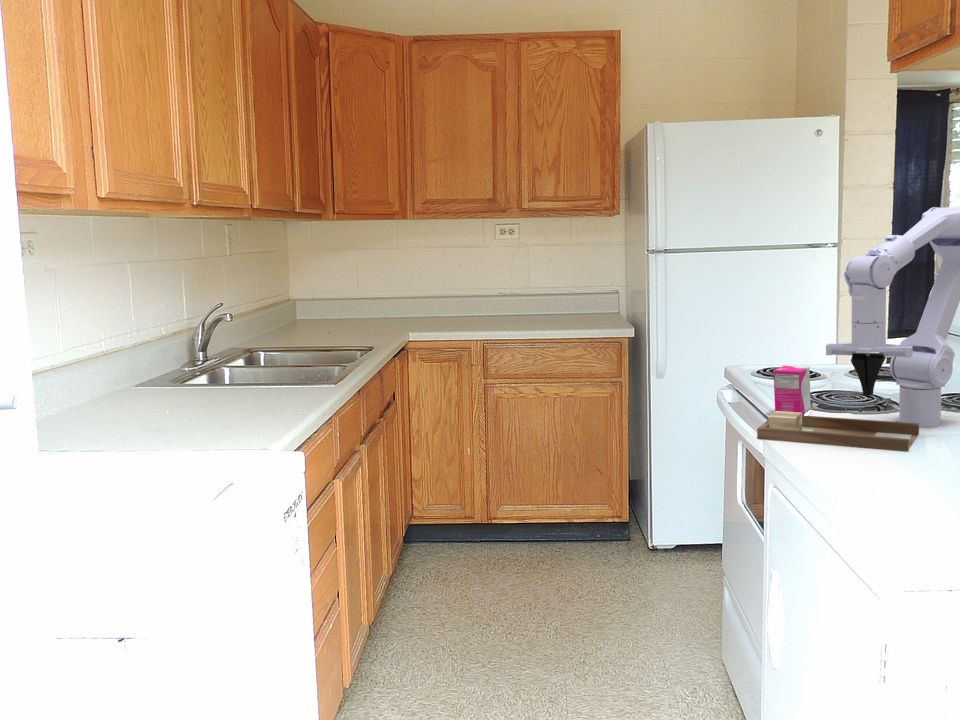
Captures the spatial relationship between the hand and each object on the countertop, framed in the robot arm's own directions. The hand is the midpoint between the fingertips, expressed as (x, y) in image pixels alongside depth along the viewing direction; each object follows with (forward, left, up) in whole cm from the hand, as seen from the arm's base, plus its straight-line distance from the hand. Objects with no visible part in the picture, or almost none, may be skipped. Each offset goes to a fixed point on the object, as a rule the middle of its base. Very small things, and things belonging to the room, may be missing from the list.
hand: (868, 394), depth 164 cm
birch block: (+2, -14, -8) cm, 17 cm away
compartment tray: (+2, -5, -9) cm, 11 cm away
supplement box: (-13, -17, -10) cm, 23 cm away
